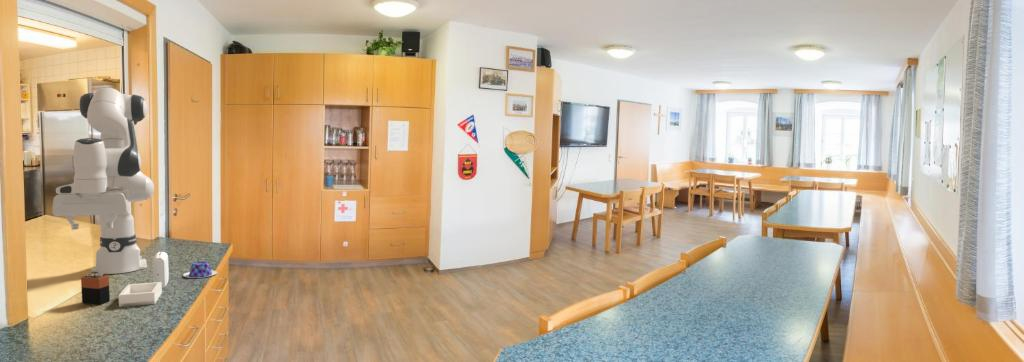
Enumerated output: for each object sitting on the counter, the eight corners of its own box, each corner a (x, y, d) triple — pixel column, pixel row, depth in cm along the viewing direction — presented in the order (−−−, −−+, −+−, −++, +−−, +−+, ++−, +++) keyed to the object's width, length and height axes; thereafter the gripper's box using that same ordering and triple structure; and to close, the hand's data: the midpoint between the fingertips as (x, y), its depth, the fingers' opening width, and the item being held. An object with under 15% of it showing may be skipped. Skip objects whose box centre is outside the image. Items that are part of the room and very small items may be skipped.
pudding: (186, 281, 211) (186, 268, 211) (180, 274, 220) (180, 261, 220) (220, 276, 219) (220, 263, 219) (213, 270, 228) (213, 257, 228)
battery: (99, 305, 181) (97, 276, 180) (81, 303, 182) (79, 274, 181) (110, 301, 185) (109, 272, 184) (93, 299, 186) (91, 271, 185)
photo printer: (165, 287, 201) (164, 255, 200) (152, 289, 200) (151, 255, 198) (169, 280, 211) (169, 249, 210) (156, 281, 209) (155, 249, 208)
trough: (128, 295, 192) (128, 284, 191) (161, 292, 196) (161, 281, 195) (119, 307, 180) (118, 295, 179) (154, 303, 184) (154, 292, 183)
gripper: (130, 186, 188) (132, 225, 189) (56, 187, 180) (58, 228, 181) (126, 187, 182) (127, 228, 183) (49, 188, 174) (51, 231, 175)
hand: (92, 228), depth 182 cm, fingers open, 8 cm apart
